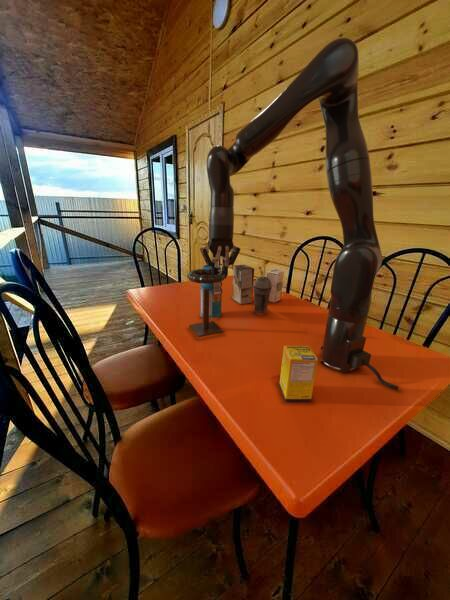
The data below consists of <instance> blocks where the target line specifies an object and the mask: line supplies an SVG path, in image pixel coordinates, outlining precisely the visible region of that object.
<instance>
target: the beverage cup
mask: <svg viewBox="0 0 450 600" xmlns="http://www.w3.org/2000/svg"><path fill="white" fill-rule="evenodd" d="M265 274H266V266H265V265H264V266H263V271H262V276H258V277H257V278H256V279H255V281H254V282H253V297H254V299H253V300H254V301H253V302H254V304H253V306H254V307H253V308H254V312H255V313H257V314H265V313H267V311H268V305H269V301H268V300H269V295H270V291H271V288H272V285H271V281H270V280H269V279H268V278H267V276H265Z"/></svg>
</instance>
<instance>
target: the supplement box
mask: <svg viewBox="0 0 450 600" xmlns="http://www.w3.org/2000/svg"><path fill="white" fill-rule="evenodd" d="M318 361H319V359H318V357H317V355H316V354H315V353H314V351H313V350H312V349H311V347H310V346H309V345H283V351H282V359H281V366H280V375H279V385H278V387H279V388H280V391H281V394H282V396H283V399H284V402H312V397H313V391H314V386H315V379H316V373H317V368H318V363H319V362H318Z"/></svg>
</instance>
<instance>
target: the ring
mask: <svg viewBox="0 0 450 600" xmlns="http://www.w3.org/2000/svg"><path fill="white" fill-rule="evenodd" d="M186 277H187V279H188V280H189V281H191V282H192V283H197V284H201V283H202V284H212V283H218V282H221V281H222V282H224V281H225V279H226V278H225V273H224V272H222V270H221V271H220V270H218V275H212V269H203V268H196V269H192V270H190V271H189V272H188V273H187V275H186Z"/></svg>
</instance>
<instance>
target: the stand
mask: <svg viewBox="0 0 450 600" xmlns="http://www.w3.org/2000/svg"><path fill="white" fill-rule="evenodd" d="M188 327H189V328H190V329H191V330H192V332H193V333H194V334H195V335H196V336H197V337H198V338H201V337H206V336H210V335H215V334H221V333H224V330H223V328H220V327H219V326H218V324H217V323H215V322H214V321H213V320H211V321H210V318H209V288H203V316H202V322H197V323H193V324H188Z"/></svg>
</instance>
